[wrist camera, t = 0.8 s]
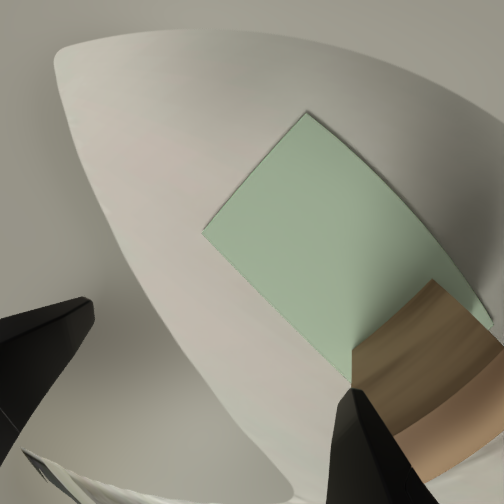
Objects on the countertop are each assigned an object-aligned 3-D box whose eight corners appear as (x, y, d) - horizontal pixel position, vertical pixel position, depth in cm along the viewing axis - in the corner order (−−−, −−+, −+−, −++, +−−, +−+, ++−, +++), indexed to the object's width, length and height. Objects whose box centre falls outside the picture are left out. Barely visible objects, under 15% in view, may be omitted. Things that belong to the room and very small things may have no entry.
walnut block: (464, 322, 16) (530, 405, 6) (388, 387, 19) (398, 495, 8) (432, 278, 17) (504, 347, 6) (351, 350, 19) (346, 461, 9)
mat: (492, 322, 16) (493, 324, 15) (384, 412, 20) (384, 415, 19) (306, 114, 18) (306, 112, 18) (203, 232, 22) (201, 233, 22)
